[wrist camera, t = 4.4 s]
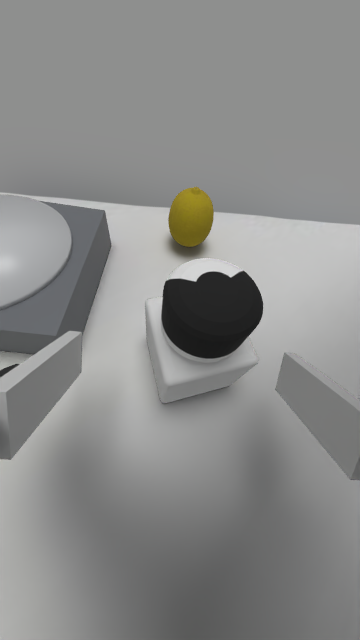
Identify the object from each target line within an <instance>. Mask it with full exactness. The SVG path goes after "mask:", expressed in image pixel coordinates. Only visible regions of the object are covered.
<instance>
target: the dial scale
mask: <svg viewBox="0 0 360 640" xmlns="http://www.w3.org/2000/svg"><path fill="white" fill-rule="evenodd" d="M110 248H111V240H110V235H109V230H108V225H107V219H106V214H105V211H104V210H98V209H91V208H84V207H77V206H70V205H63V204H56V203H50V202H43V201H37V200H34V199H30V198H27V197H21V196H14V195H0V351H8V352H18V353H28V354H36V353H37V352H39V351H40V350H42V349H43V348H45V347H46V346H48V345H49V344H51V343H52V342H53V341H55V340H56V339H58V338H59V337H61V336H62V335H64V334H65V333H67V332H68V331H77V332H82V334H83V331H84V328H85V325H86V322H87V319H88V316H89V313H90V310H91V306H92V303H93V300H94V297H95V294H96V291H97V288H98V285H99V282H100V279H101V276H102V272H103V269H104V266H105V263H106V260H107V257H108V254H109V251H110Z"/></svg>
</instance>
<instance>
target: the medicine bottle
mask: <svg viewBox="0 0 360 640" xmlns="http://www.w3.org/2000/svg"><path fill="white" fill-rule="evenodd" d="M145 313H146V339H147V343H148V348H149V352H150V357H151V361H152V365H153V370H154V374H155V379H156V383H157V388H158V392H159V397H160V401H161V402H162V403H168V402H172V401H176V400H179V399H183V398H187V397H190V396H194V395H198V394H201V393H205V392H209V391H212V390H216V389H220V388H223V387H227V386H230V385H231V384H232V383H234V382H235V381H236V380H237V379H239V378H240V377H241V376H242V375H244V374H245V373H246V372H247V371H249V370H250V369H251V368H253V367H254V366H255V365H256V364H258V361H259V359H258V356H257V354H256V352H255V350H254V348H253V345H252V343H251V341H250V339H249V337H248V336H249V335H250V334H251V333H252V332H253V330H254V329H255V328H256V327H257V325H258V324H259V322H260V320H261V317H262V314H263V301H262V297H261V294H260V291H259V289H258V287H257V286H256V284H255V282H254V281H253V280H252V278H251V277H250V276H249V275H248V274H247V273H246V272H244V271H243V270H242V269H240V268H239V267H237V266H235V265H234V264H231V263H229V262H226V261H223V260H219V259H213V258H200V259H195V260H191V261H188V262H186V263H184V264H182V265H180V266H178V267H177V268H176V269H174V270H173V271H172V272H171V274H170V275H169V276H168V278H167V280H166V282H165V285H164V290H163V296H162V297H156V298H150V299H147V300H146V302H145Z"/></svg>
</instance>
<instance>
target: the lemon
mask: <svg viewBox="0 0 360 640" xmlns="http://www.w3.org/2000/svg"><path fill="white" fill-rule="evenodd" d="M212 223H213V205H212V202H211V200H210V198H209V196H208V195H207V194H206V193H205V192H204V191H202V190H200V189H199V188H198V187H194V188H188V189H185V190H183V191H182V192H180V193H179V194H178V195H177V196H176V198H175V199H174V201H173V203H172V206H171V209H170V213H169V229H170V233H171V235H172V237H173V238H174V240H175V241H176V242H177V243H179V244H180V245H183V246H186V247H193V246H196V245H199V244H200V243H202V242H203V241H204V240H205V239H206V237H207V236H208V234H209V232H210V230H211V227H212Z"/></svg>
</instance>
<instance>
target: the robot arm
mask: <svg viewBox="0 0 360 640" xmlns="http://www.w3.org/2000/svg"><path fill="white" fill-rule="evenodd" d="M81 366H82V332H77V331H68V332H67V333H65V334H64V335H62V336H61V337H59V338H58V339H56V340H55V341H53V342H52V343H51V344H49V345H48V346H46V347H45V348H43V349H42V350H40V351H39V352H37V353H36V354H34V355H33V356H31V357H30V358H28V359H27V360H25V361H24V362H23V363H21V364H15V365H12V366H9V367H7V368H4V369H2V370H1V371H0V459H8V460H11V459H12V458H13V457H14V455H15V454H16V453H17V452H18V450H19V449H20V448H21V447H22V445H23V444H24V443H25V442H26V440H27V439H28V438H29V437H30V435H31V434H32V433H33V432H34V430H35V429H36V428H37V427H38V426H39V424H40V423H41V422H42V421H43V419H44V418H45V417H46V416H47V414H48V413H49V412H50V411H51V409H52V408H53V407H54V406H55V404H56V403H57V402H58V401H59V399H60V398H61V397H62V396H63V394H64V393H65V392H66V391H67V390H68V388H69V387H70V386H71V385H72V383H73V382H74V381H75V380H76V378H77V377H78V376H79V375H80V373H81ZM275 390H276V391H277V392H278V393H279V394H280V396H281V397H282V398H283V399H284V401H285V402H286V403H287V404H288V405H289V407H290V408H291V409H292V410H293V411H294V413H295V414H296V415H297V416H298V417H299V419H300V420H301V421H302V422H303V423H304V425H305V426H306V427H307V428H308V429H309V431H310V432H311V433H312V434H313V435H314V437H315V438H316V439H317V440H318V441H319V443H320V444H321V445H322V446H323V447H324V449H325V450H326V451H327V452H328V453H329V455H330V456H331V457H332V458H333V459H334V461H335V462H336V463H337V464H338V465H339V467H340V468H341V469H342V470H343V471H344V473H345V474H346V475H347V476H348V477H349V479H350V480H360V400H359V399H358V398H356V397H355V396H354V395H352V394H351V393H349V392H348V391H347V390H345V389H344V388H342V387H341V386H340V385H338V384H337V383H336V382H334V381H333V380H331V379H330V378H329V377H327V376H326V375H324V374H323V373H322V372H320V371H319V370H318V369H316V368H315V367H313V366H312V365H311V364H309V363H308V362H307V361H305V360H304V359H302V358H301V357H300V356H298V355H297V354H294V353H284V357H283V361H282V365H281V369H280V373H279V377H278V381H277V385H276V388H275Z"/></svg>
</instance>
